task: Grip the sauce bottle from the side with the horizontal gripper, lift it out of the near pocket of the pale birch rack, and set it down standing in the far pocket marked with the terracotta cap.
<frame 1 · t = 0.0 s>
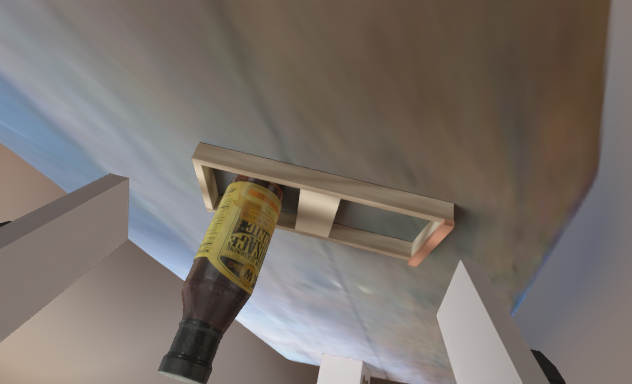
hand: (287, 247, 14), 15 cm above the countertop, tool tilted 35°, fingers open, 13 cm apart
gable box: (347, 362, 125), on the countertop
sauce bottle: (258, 183, 41), resting in bottle rack
bottle rack: (319, 200, 40), on the countertop
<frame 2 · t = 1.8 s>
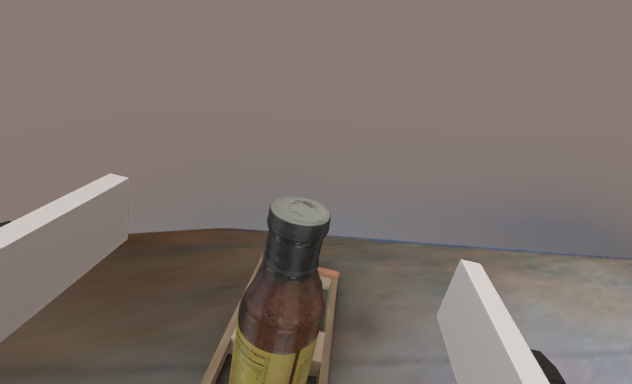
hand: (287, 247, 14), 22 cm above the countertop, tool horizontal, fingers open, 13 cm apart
bottle rack: (276, 350, 38), on the countertop
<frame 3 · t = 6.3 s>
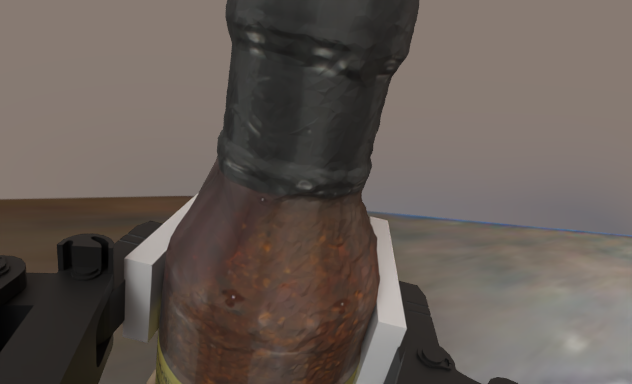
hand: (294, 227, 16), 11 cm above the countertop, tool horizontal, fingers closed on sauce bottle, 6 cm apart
when the fingers open (12 cm above the countertop, at t = 11.1 s): sauce bottle drops 1 cm, resting in bottle rack.
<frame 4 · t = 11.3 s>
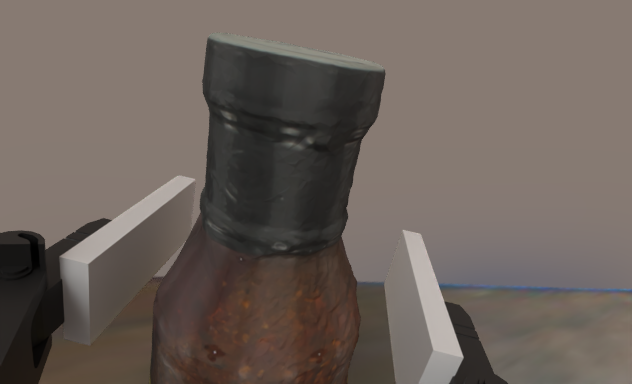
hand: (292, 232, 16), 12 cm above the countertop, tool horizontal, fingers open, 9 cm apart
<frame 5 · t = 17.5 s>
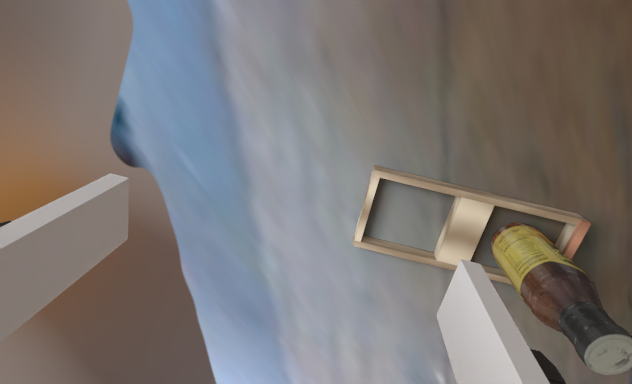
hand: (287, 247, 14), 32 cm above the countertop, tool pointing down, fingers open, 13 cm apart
sauce bottle: (512, 239, 47), resting in bottle rack
bottle rack: (460, 226, 47), on the countertop
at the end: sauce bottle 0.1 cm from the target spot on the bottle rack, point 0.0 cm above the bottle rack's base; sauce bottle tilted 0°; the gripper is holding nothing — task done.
